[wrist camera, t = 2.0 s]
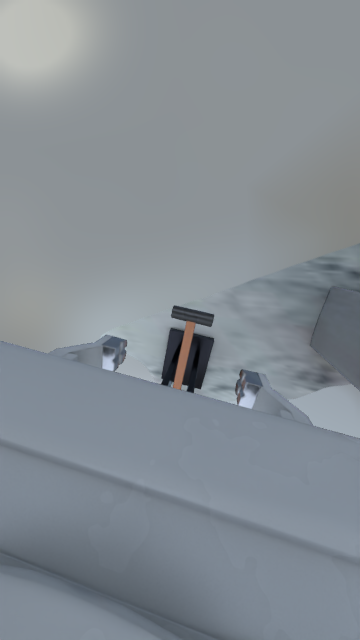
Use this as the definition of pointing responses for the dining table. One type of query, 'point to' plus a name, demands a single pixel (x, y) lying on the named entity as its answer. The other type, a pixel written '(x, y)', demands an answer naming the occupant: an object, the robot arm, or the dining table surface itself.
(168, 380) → the bracket
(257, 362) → the dining table surface
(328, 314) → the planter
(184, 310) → the lever
